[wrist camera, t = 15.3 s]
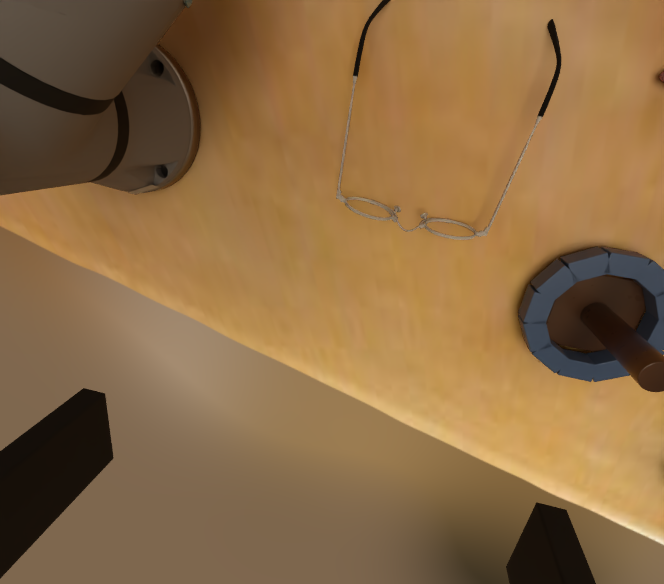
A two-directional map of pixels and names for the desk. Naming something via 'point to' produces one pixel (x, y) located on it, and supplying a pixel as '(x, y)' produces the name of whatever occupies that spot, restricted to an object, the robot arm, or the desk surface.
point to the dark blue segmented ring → (658, 286)
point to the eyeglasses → (356, 69)
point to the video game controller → (662, 76)
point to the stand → (608, 325)
